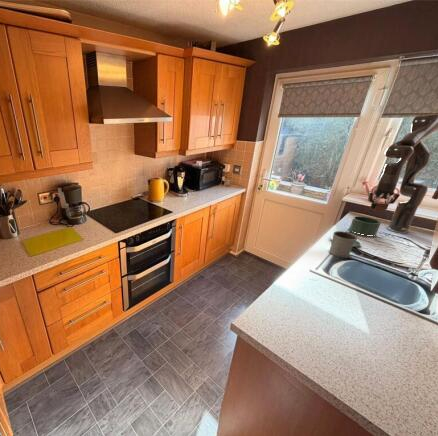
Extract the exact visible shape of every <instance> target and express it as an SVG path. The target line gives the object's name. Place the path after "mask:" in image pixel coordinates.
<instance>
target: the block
mask: <svg viewBox="0 0 438 436" xmlns="http://www.w3.org/2000/svg"><path fill="white" fill-rule="evenodd" d="M386 207H387V204H386V203H385V201H379V200H378V201H377V202H376V205H375V208H374V209H372V210H373V211H375V212H385V211H386V210H387V209H386ZM385 209H386V210H385Z"/></svg>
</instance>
